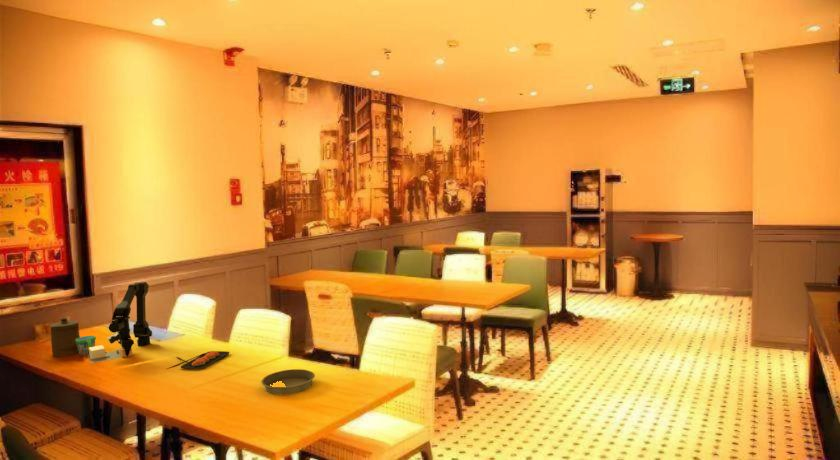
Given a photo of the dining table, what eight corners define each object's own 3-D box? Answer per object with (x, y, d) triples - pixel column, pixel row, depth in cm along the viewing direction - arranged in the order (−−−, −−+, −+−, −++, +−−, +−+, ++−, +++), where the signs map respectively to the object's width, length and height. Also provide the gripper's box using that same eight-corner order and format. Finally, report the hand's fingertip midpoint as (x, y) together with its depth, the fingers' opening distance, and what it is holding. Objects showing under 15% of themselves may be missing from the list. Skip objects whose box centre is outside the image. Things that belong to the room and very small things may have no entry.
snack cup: (74, 353, 348) (72, 337, 347) (94, 350, 354) (92, 333, 353) (79, 359, 336) (77, 342, 335) (99, 355, 342) (98, 338, 341)
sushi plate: (203, 371, 304) (202, 364, 304) (152, 370, 310) (151, 363, 310) (231, 354, 332) (231, 348, 332) (184, 353, 338) (184, 347, 338)
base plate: (127, 350, 350) (126, 345, 349) (133, 357, 335) (132, 351, 335) (87, 358, 337) (86, 352, 337) (91, 365, 323) (91, 359, 322)
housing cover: (102, 353, 341) (102, 345, 340) (105, 357, 333) (104, 348, 333) (89, 356, 337) (88, 347, 336) (91, 359, 329) (90, 351, 328)
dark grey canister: (86, 349, 357) (83, 313, 355) (69, 356, 343) (66, 319, 341) (64, 349, 359) (60, 314, 357) (46, 356, 344) (42, 320, 342)
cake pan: (252, 388, 275) (251, 379, 274) (296, 374, 292) (296, 365, 292) (279, 401, 257) (279, 391, 257) (325, 385, 274) (325, 376, 274)
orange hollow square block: (130, 353, 339) (129, 346, 339) (132, 355, 335) (131, 348, 335) (120, 355, 336) (119, 348, 336) (121, 357, 332) (121, 350, 331)
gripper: (105, 327, 337) (107, 354, 338) (110, 333, 322) (113, 361, 323) (126, 324, 344) (128, 350, 345) (132, 329, 329) (135, 356, 330)
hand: (126, 354), depth 336 cm, fingers closed on orange hollow square block, 5 cm apart
